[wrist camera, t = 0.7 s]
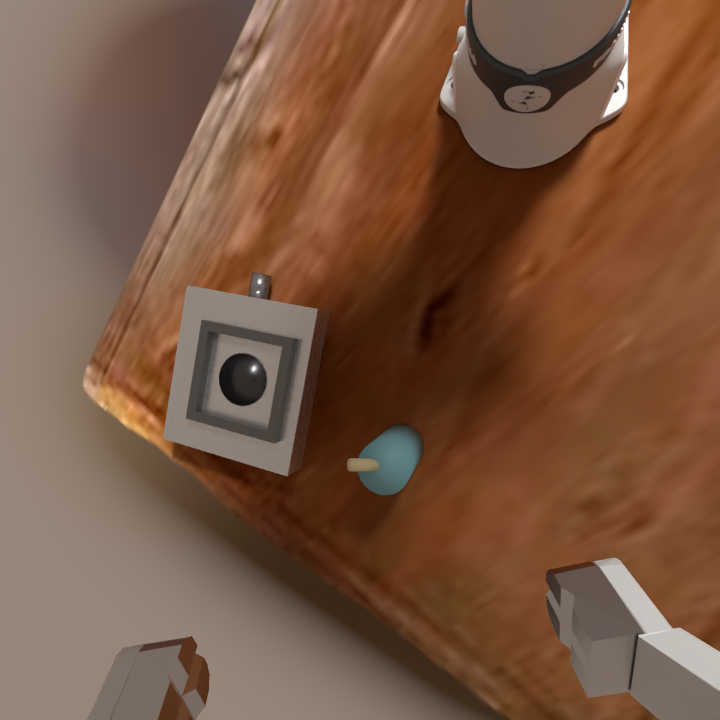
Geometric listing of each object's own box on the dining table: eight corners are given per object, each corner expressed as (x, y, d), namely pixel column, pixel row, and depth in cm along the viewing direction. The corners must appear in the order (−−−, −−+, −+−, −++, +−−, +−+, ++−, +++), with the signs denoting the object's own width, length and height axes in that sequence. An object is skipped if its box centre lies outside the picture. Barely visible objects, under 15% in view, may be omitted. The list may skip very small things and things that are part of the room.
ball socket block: (210, 267, 57) (184, 259, 52) (334, 288, 52) (318, 281, 47) (183, 432, 58) (155, 440, 53) (301, 467, 54) (282, 479, 49)
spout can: (379, 418, 51) (349, 437, 39) (427, 429, 49) (411, 454, 37) (371, 459, 51) (339, 491, 39) (419, 472, 49) (400, 509, 38)
